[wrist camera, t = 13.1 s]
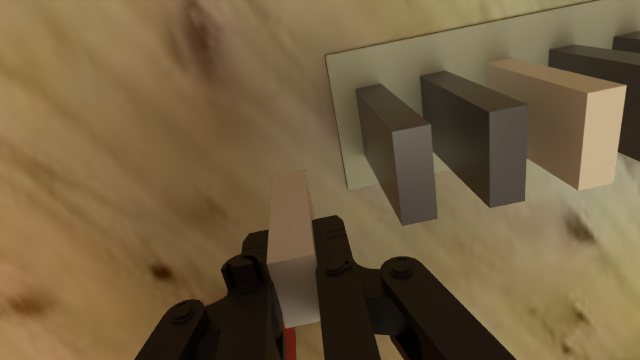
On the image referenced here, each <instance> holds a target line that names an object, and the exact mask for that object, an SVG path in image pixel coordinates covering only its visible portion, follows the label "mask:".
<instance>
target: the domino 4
mask: <svg viewBox="0 0 640 360" xmlns="http://www.w3.org/2000/svg"><path fill="white" fill-rule="evenodd" d="M612 50H619V51H626V52H633V53H640V31H638V32H633V33H629V34H624V35H619V36H614V37H613V46H612Z"/></svg>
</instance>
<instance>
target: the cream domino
mask: <svg viewBox="0 0 640 360" xmlns="http://www.w3.org/2000/svg"><path fill="white" fill-rule="evenodd" d="M485 87H487V88H489V89H492V90H494V91H497V92H499V93H502V94H504V95H507V96H509V97H511V98H514V99H516V100H519V101H521V102H524V103H526V104H528V129H527V155H526V158H528V159H529V160H531V161H532V162H534V163H536V164H537V165H539V166H540V167H542V168H543V169H545V170H547V171H548V172H550V173H551V174H553V175H554V176H556V177H558V178H559V179H561V180H562V181H564V182H566V183H567V184H569V185H570V186H572V187H573V188H575V189H577V190H578V191H579V190H583V189H588V188H593V187H598V186H603V185H608V184H613V181H614V174H615V166H616V159H617V152H618V145H619V137H620V130H621V123H622V116H623V108H624V101H625V94H626V87H627V85H624V84H619V83H615V82H611V81H607V80H603V79H598V78H594V77H590V76H586V75H582V74H577V73H573V72H569V71H565V70H560V69H556V68H552V67H548V66H544V65H539V64H535V63H531V62H527V61H523V60H518V59H514V58H507V59H503V60H498V61H493V62H488V63H485Z"/></svg>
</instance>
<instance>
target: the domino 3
mask: <svg viewBox="0 0 640 360" xmlns="http://www.w3.org/2000/svg"><path fill="white" fill-rule="evenodd" d="M548 67H552V68H556V69H560V70H565V71H569V72H573V73H577V74H582V75H586V76H590V77H594V78H598V79H603V80H607V81H611V82H615V83H619V84H624V85H627V87H626V94H625V101H624V108H623V116H622V123H621V130H620V137H619V145H618V152H619V153H622V154H624V155H626V156H628V157H631V158H633V159H635V160H637V161H640V53H633V52H626V51H619V50H612V49H605V48H597V47H590V46H583V45H576V44H574V45H569V46H564V47H559V48H554V49H549V60H548Z"/></svg>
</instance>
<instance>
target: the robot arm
mask: <svg viewBox="0 0 640 360" xmlns="http://www.w3.org/2000/svg"><path fill="white" fill-rule="evenodd" d="M221 272H222V275H223V278H224V280H225V283H226V286H227V289H228V293H227V296H225V297H224V298H223V299H221V300H219V301H217V302H215V303H212V304H210V305H208V306H204V304H203V303H202V302H201V301H199V300H194V299H191V300H185V301H182V302H180V303H178V304H176V305H174V306H173V307H171V308H170V309H169V310H168V311H167V312H166V313H165V314H164V316H163V317H162V319H161V320H160V322H159V323H158V325H157V326H156V328H155V329H154V331H153V332H152V334H151V335H150V337H149V338H148V340H147V341H146V343H145V344H144V346H143V347H142V349H141V350H140V352H139V353H138V355H137V356H136V358H135V359H134V360H286V339H285V335H284V332H283V321H284V325H285V328H291V327H296V326H301V325H306V324H311V323H316V322H321V329H322V338H323V348H324V357H325V360H381V358H380V355H379V351H378V347H377V343H376V339H375V336H374V334H380V335H389V336H390V338H391V341H392V342H393V344H394V345H395V347H396V348H397V350H398V351H399V353H400V354H401V356H402V357H403V359H404V360H516V359H515V358H514V357H513V356H512V354H511V353H510V352H509V351H508V350H507V349H506V348H505V347H504V346H503V345H502V344H501V343H500V342H499V341H498V340H497V339H496V338H495V337H494V336H493V335H492V334H491V333H490V332H489V331H488V330H487V329H486V328H485V327H484V326H483V325H482V324H481V323H480V322H479V321H478V320H477V319H476V318H475V317H474V316H473V315H472V314H471V313H470V312H469V311H468V310H467V309H466V308H465V307H464V306H463V305H462V304H461V303H460V302H459V301H458V300H457V299H456V298H455V297H454V296H453V295H452V294H451V293H450V292H449V291H448V290H447V289H446V288H445V287H444V286H443V285H442V283H441V282H440V281H439V280H438V279H437V278H436V277H435V276H434V275H433V274H432V273H431V272H430V271H429V270H428V269H427V268H426V267H425V266H424V265H423V264H422V263H421V262H419V261H418V260H416V259H414V258H411V257H404V256H399V257H395V258H391V259H389V260H387V261H385V262H384V264H383V265H382V266H381V269H369V268H365V267H362V266H360V265H358V264H357V263H356V262H355V261H354V259H353V257H352V253H351V249H350V245H349V242H348V238H347V234H346V230H345V226H344V223H343V220H342V219H340V218H339V217H338V216H337V215H334V216H329V217H324V218H319V219H315V217H314V213H313V208H312V203H311V199H310V194H309V190H308V185H307V180H306V176H305V171H299V172H294V173H289V174H284V175H279V176H274V177H272V189H271V204H270V219H269V230H264V231H259V232H254V233H249V235H248V236H247V237H246V239H245V240H244V241H243V246H242V252H241V254H239V255H236V256H234V257H232V258H231V259H229V260H228V261H227V262H226V263H225V264H223V266H222V268H221Z"/></svg>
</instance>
